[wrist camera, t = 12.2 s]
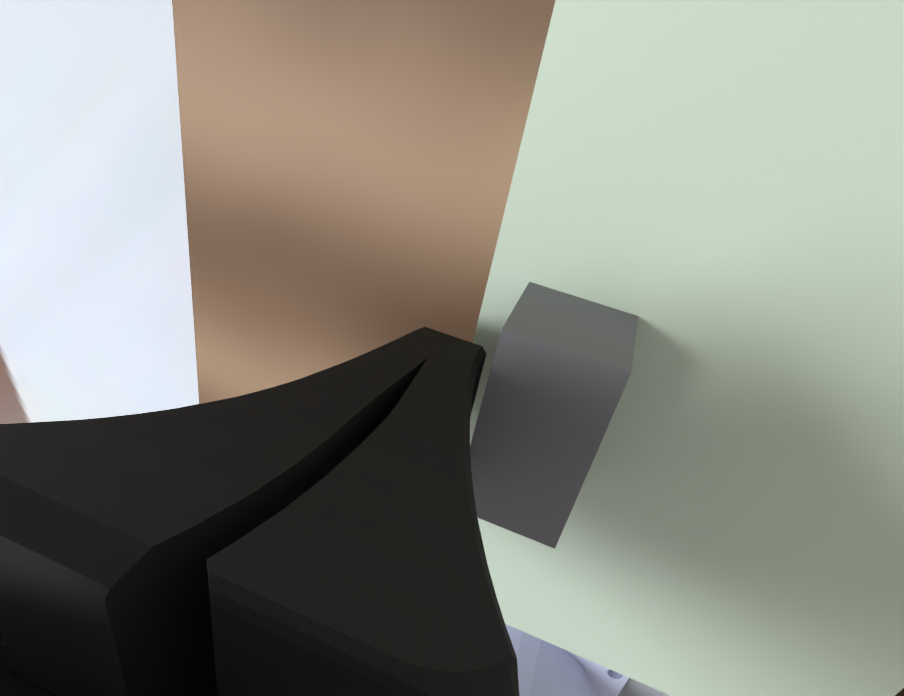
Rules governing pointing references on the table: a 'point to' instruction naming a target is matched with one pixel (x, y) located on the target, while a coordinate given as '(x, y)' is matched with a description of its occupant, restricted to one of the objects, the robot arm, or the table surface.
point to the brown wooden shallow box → (344, 172)
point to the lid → (704, 348)
